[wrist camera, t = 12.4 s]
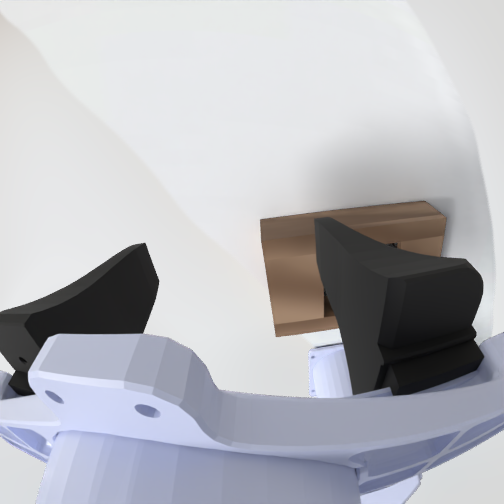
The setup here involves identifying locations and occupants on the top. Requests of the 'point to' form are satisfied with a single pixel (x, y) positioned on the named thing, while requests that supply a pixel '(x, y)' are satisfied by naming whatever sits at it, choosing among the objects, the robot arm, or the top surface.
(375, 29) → the top surface
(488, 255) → the top surface
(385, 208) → the brown wooden hollow block
